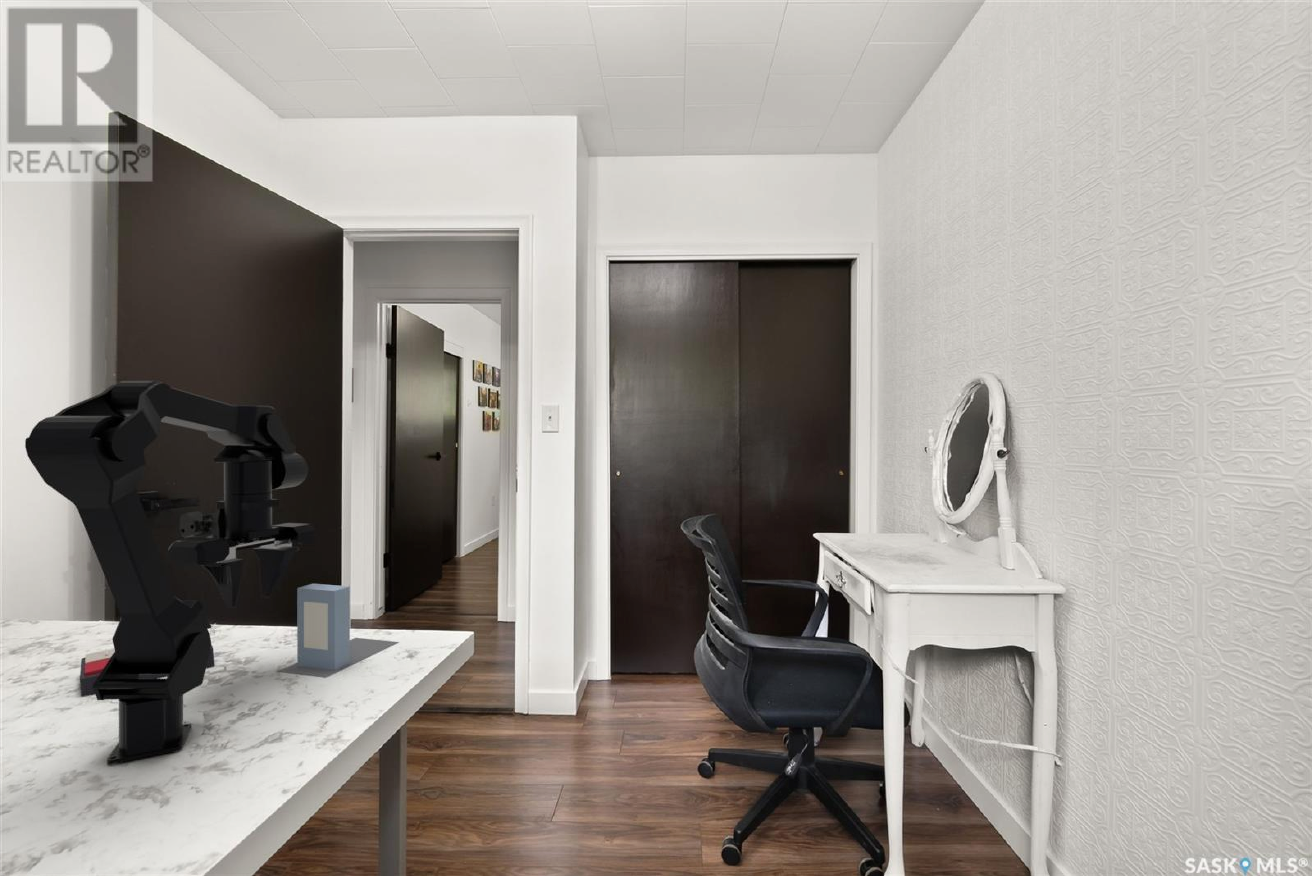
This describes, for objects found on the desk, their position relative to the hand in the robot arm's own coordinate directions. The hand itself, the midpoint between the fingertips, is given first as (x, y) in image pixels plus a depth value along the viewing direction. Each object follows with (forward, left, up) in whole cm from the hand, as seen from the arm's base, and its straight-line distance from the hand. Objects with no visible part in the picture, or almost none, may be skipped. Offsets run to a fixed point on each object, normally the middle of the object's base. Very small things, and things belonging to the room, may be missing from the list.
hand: (248, 602), depth 87 cm
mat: (+6, -12, -12) cm, 18 cm away
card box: (+3, -9, -12) cm, 15 cm away
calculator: (+14, +14, -13) cm, 23 cm away
